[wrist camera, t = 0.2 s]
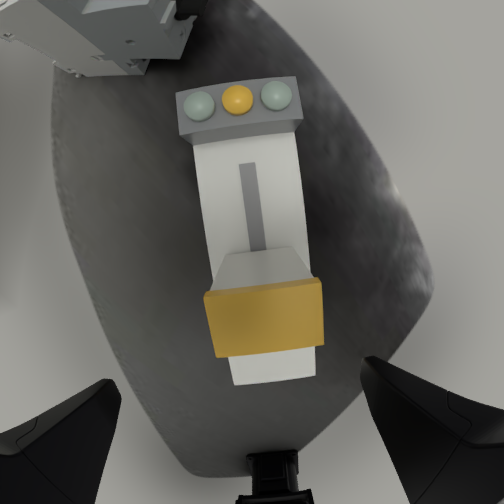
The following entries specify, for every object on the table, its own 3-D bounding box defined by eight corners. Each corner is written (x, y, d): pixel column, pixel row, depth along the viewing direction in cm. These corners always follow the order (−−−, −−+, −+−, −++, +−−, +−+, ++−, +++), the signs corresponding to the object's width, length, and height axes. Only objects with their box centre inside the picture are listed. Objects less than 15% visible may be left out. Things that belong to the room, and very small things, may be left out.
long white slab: (312, 366, 25) (326, 409, 19) (235, 376, 25) (231, 420, 19) (285, 102, 20) (297, 71, 14) (193, 114, 20) (172, 88, 14)
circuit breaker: (209, 79, 20) (158, -44, 5) (77, 77, 19) (-25, 26, 4) (231, 16, 18) (214, -105, 3) (102, 20, 17) (29, -49, 3)
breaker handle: (297, 285, 21) (323, 344, 12) (230, 294, 21) (216, 357, 13) (293, 245, 20) (321, 282, 12) (223, 254, 21) (203, 297, 12)
